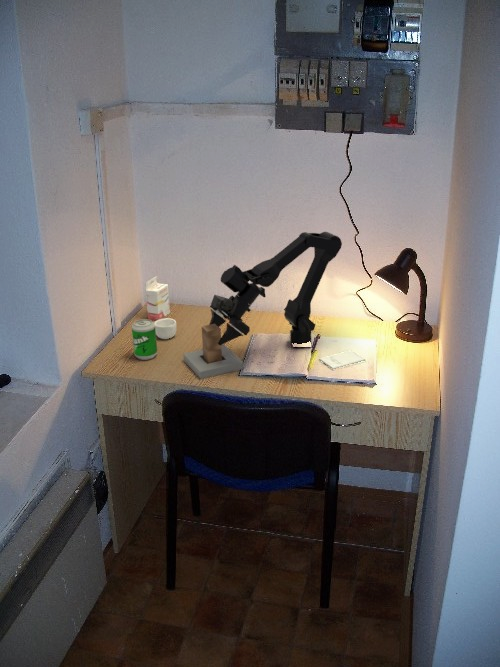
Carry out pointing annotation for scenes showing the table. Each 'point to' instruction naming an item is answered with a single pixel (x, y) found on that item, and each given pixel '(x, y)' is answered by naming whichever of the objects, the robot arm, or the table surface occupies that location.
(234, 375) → the table surface
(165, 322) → the teacup
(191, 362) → the socket base
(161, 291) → the milk carton
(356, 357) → the external hard drive
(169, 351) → the table surface
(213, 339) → the walnut pillar
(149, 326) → the soda can
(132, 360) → the table surface
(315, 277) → the robot arm
